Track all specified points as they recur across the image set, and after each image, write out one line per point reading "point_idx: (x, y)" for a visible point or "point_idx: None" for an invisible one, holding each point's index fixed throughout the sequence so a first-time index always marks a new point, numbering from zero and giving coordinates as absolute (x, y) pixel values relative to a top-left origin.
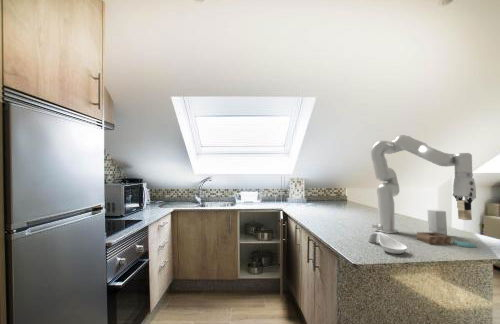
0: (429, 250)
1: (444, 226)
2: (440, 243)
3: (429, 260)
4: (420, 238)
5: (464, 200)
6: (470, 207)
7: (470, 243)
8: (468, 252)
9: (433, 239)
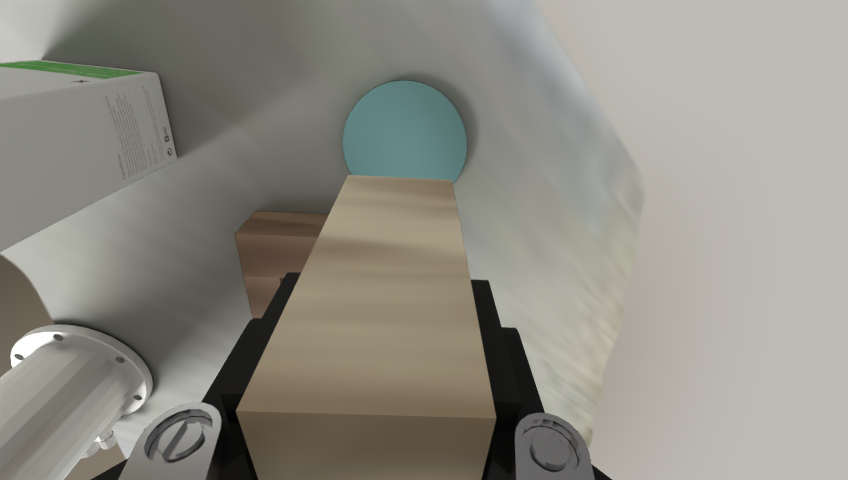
0: None
1: (97, 114)
2: None
3: None
4: None
5: (298, 440)
6: (518, 342)
7: (411, 103)
8: (539, 248)
9: None
